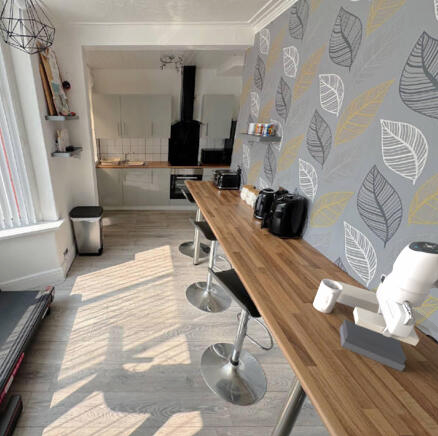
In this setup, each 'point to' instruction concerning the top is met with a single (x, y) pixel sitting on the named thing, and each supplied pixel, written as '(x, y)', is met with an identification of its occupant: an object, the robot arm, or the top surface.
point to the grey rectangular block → (372, 345)
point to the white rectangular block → (358, 298)
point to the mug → (327, 295)
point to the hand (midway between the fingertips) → (382, 326)
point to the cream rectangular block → (379, 324)
